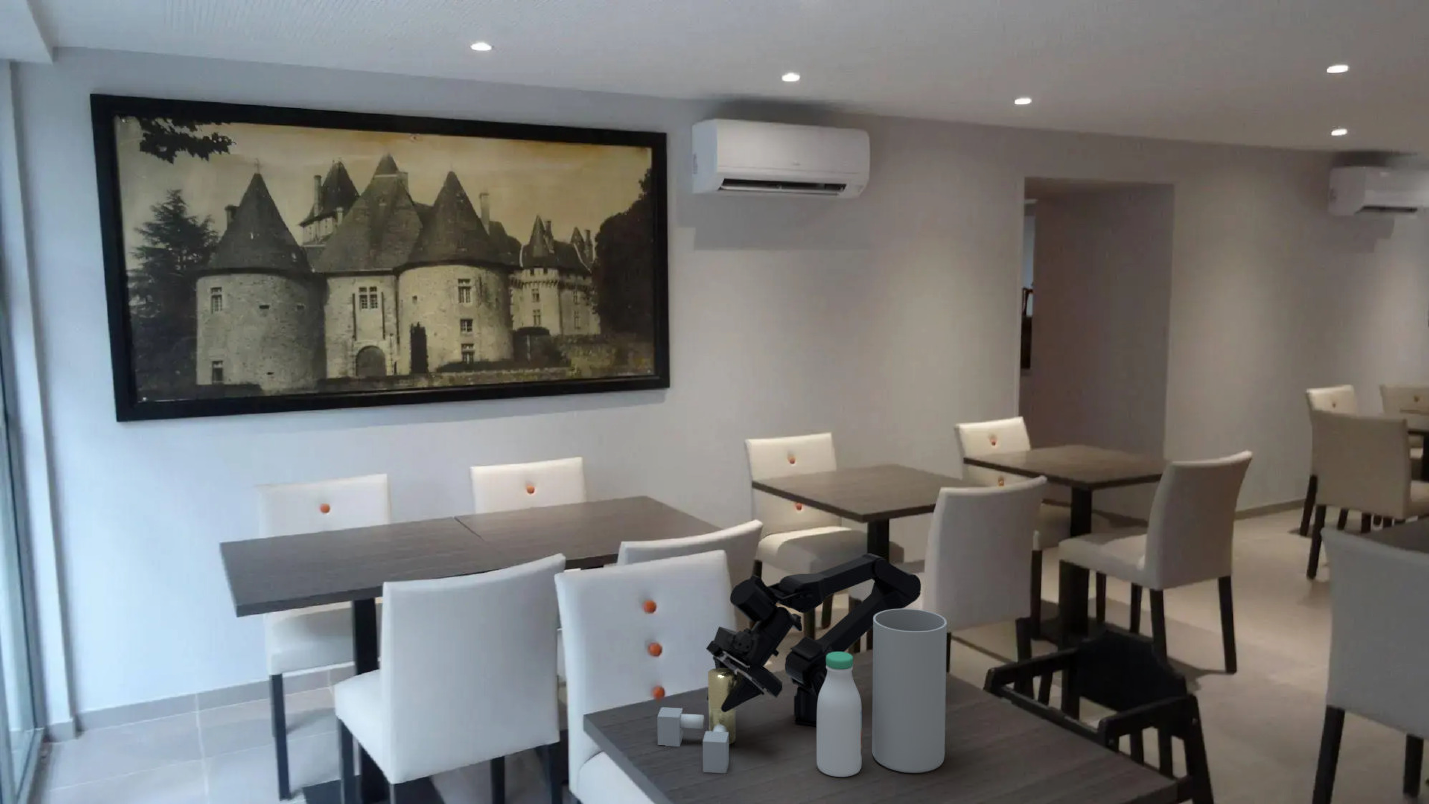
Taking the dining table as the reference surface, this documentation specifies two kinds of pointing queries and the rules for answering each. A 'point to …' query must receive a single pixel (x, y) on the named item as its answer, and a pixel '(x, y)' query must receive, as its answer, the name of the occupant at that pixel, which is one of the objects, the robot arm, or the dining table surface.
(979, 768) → the dining table surface
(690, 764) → the dining table surface
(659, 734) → the shaft on bearing block
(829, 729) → the milk bottle
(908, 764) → the cylinder vase
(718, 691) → the olive pillar candle
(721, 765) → the shaft on bearing block
